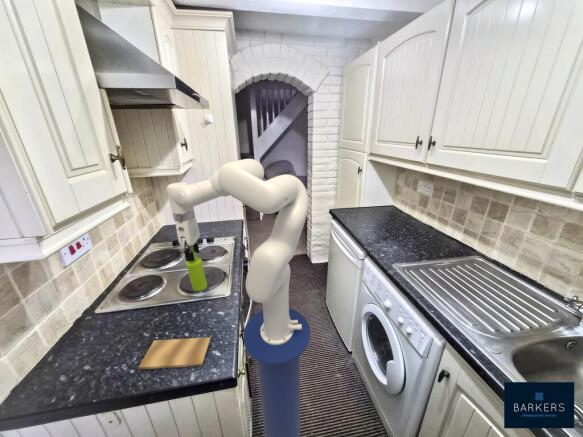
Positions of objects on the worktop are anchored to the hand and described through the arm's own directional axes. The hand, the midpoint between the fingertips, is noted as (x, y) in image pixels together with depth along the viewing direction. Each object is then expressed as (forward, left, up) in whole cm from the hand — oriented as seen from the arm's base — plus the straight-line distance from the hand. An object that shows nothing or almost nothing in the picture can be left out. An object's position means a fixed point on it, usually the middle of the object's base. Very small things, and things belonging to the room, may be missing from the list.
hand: (193, 256), depth 94 cm
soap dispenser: (0, 0, -15) cm, 15 cm away
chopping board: (0, +26, -23) cm, 34 cm away
